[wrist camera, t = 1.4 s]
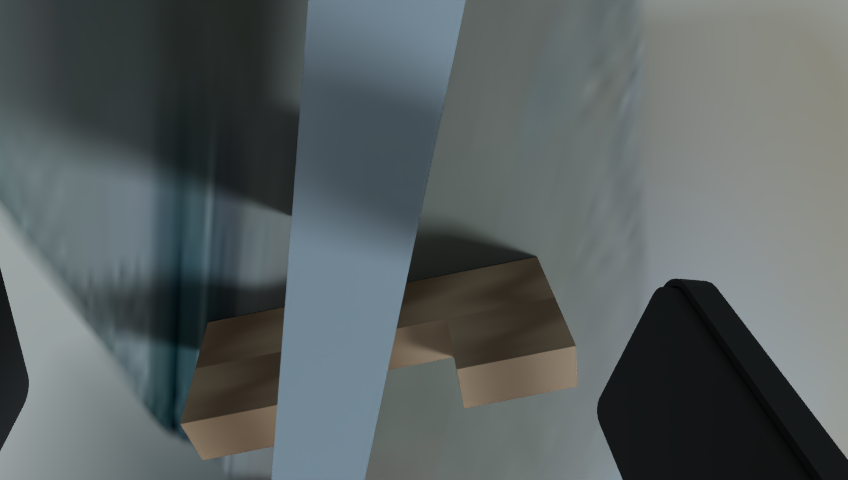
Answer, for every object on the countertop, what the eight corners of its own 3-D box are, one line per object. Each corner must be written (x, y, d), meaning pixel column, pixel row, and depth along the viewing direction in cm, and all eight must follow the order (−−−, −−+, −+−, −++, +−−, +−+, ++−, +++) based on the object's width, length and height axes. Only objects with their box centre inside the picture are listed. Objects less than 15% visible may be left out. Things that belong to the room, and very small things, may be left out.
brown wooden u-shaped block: (536, 256, 29) (575, 345, 24) (539, 294, 31) (577, 386, 26) (207, 322, 29) (180, 424, 24) (225, 357, 31) (202, 460, 26)
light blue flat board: (355, 224, 27) (362, 488, 17) (299, 219, 27) (270, 487, 16) (419, -220, 18) (522, -266, 8) (339, -238, 18) (332, -316, 7)
